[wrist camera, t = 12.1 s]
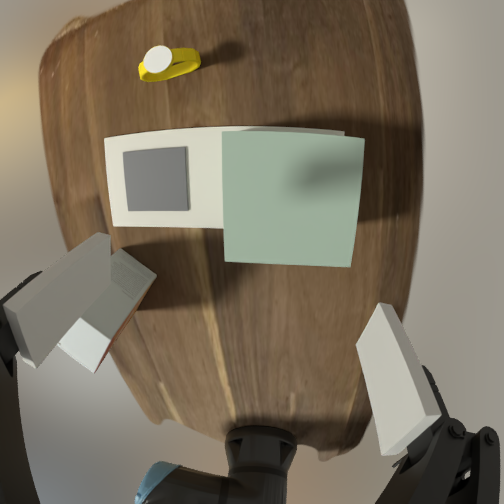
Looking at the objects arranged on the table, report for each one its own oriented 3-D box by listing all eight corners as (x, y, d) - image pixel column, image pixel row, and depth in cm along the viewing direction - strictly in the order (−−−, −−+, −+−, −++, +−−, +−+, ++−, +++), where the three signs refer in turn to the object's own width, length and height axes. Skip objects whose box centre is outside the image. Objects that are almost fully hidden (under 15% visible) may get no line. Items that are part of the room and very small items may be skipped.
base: (336, 232, 30) (336, 234, 30) (114, 225, 33) (112, 227, 32) (343, 131, 26) (345, 131, 25) (105, 137, 28) (102, 138, 27)
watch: (202, 52, 24) (189, 35, 18) (207, 74, 25) (194, 61, 19) (149, 68, 24) (126, 57, 19) (153, 90, 25) (131, 82, 20)
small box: (136, 311, 38) (94, 375, 26) (102, 286, 37) (51, 342, 25) (159, 274, 35) (111, 341, 23) (120, 245, 34) (60, 300, 22)
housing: (332, 228, 30) (350, 266, 22) (240, 224, 31) (224, 261, 23) (339, 135, 26) (364, 138, 18) (239, 130, 27) (221, 131, 18)
